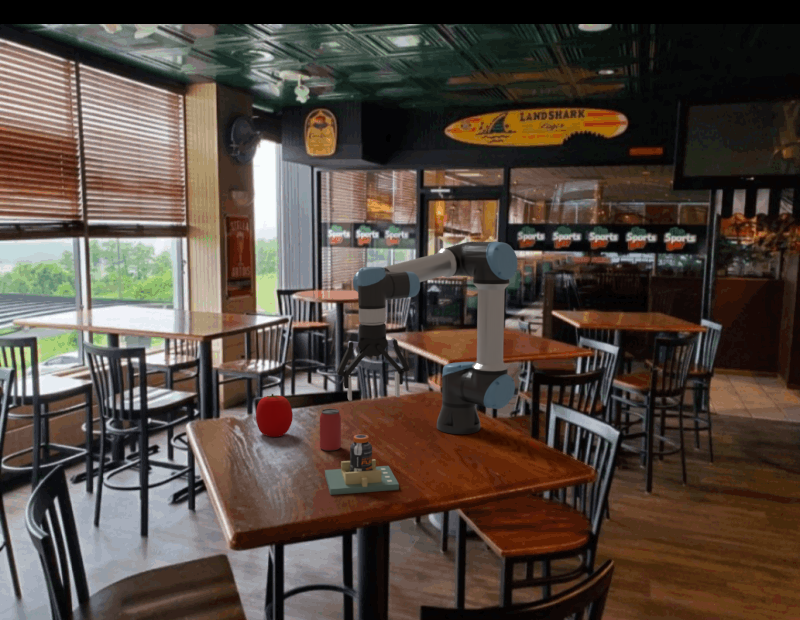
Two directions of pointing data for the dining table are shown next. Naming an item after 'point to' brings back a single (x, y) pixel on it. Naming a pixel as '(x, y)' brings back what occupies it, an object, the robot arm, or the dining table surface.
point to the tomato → (274, 415)
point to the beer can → (330, 430)
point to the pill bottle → (360, 454)
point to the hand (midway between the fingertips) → (373, 397)
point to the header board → (360, 479)
